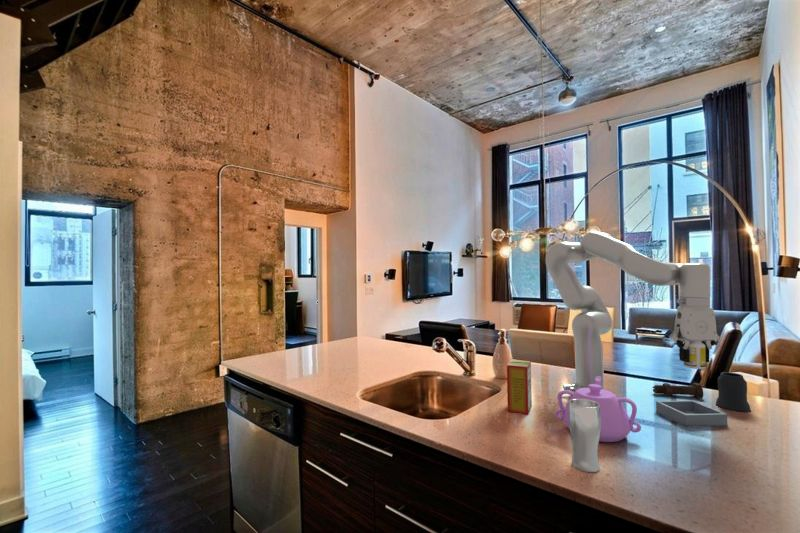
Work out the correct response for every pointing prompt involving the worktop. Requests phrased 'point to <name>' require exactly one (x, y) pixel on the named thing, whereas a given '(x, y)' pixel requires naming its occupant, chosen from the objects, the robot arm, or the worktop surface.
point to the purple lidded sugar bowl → (603, 411)
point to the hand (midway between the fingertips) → (694, 360)
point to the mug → (732, 392)
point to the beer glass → (585, 433)
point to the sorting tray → (691, 413)
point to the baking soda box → (519, 387)
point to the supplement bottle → (696, 355)
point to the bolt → (679, 390)
